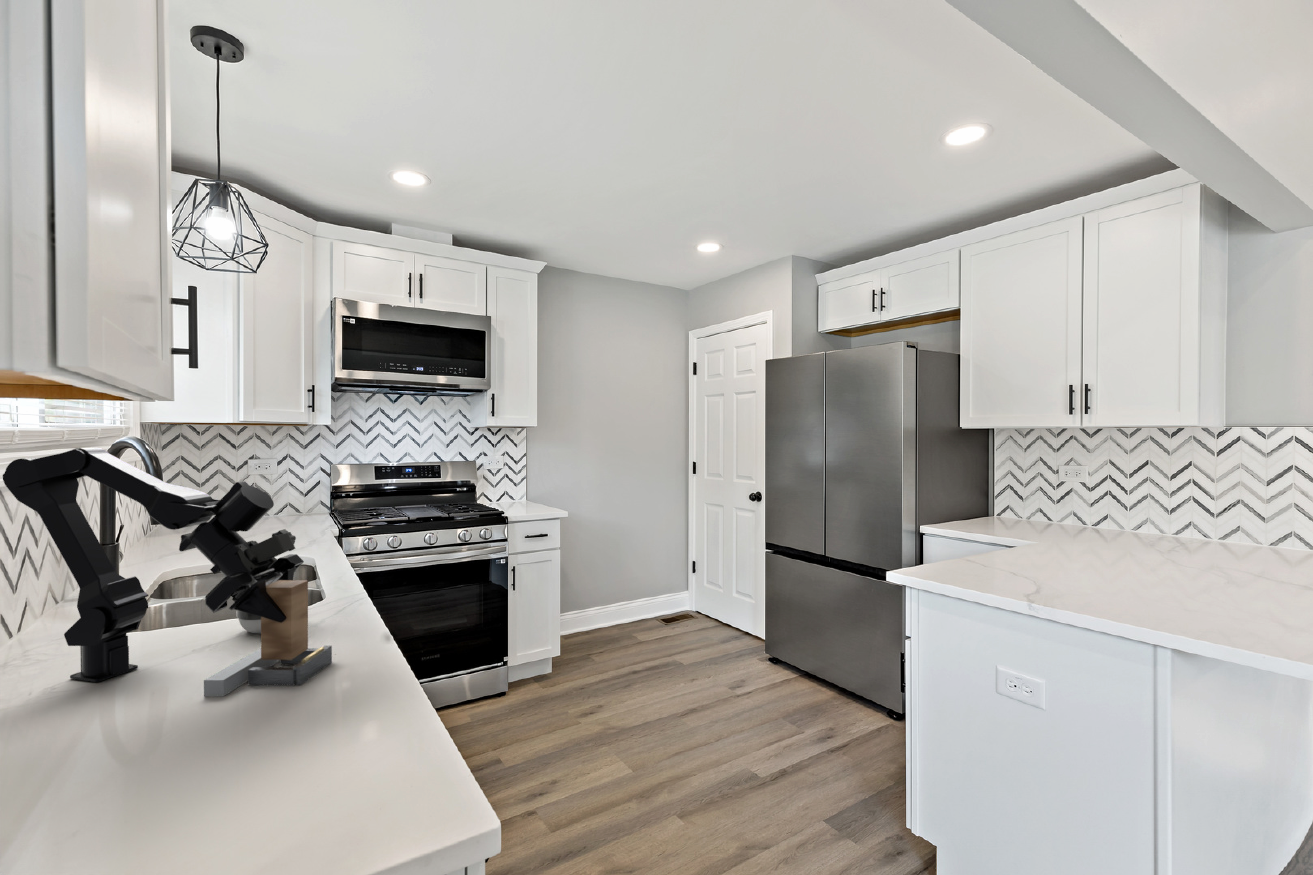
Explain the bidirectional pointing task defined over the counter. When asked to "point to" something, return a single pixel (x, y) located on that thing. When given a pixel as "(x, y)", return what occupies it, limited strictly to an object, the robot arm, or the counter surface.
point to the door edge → (234, 674)
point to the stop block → (286, 621)
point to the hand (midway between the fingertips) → (293, 615)
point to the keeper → (292, 668)
